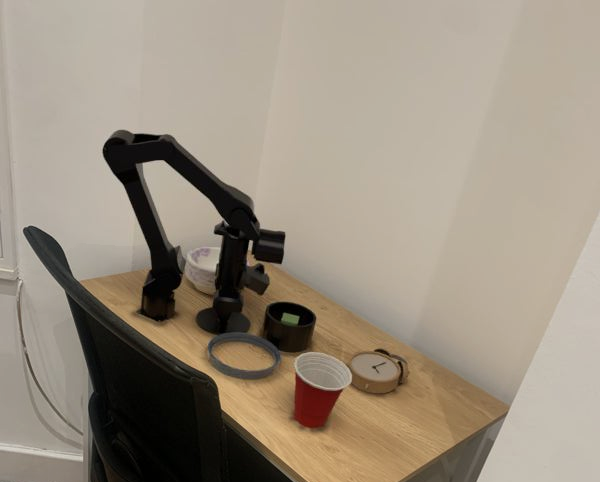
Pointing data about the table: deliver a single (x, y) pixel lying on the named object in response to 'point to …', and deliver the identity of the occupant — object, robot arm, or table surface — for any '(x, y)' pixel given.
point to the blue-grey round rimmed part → (245, 339)
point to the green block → (290, 319)
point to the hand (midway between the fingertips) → (223, 320)
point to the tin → (288, 327)
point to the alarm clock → (377, 370)
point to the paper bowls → (203, 268)
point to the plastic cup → (318, 387)
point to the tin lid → (212, 325)
